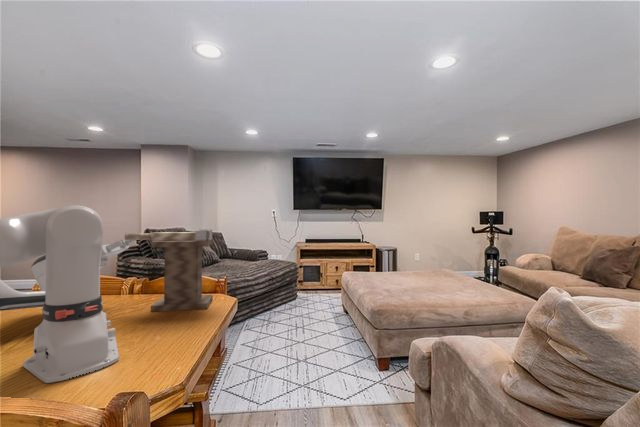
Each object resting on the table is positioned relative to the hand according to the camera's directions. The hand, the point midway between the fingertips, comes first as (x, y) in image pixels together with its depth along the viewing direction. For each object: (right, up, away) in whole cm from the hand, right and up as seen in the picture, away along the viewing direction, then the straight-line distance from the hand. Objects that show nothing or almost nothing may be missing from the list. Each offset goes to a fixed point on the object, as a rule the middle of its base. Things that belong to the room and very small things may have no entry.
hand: (127, 240), depth 114 cm
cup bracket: (+27, 0, +5) cm, 28 cm away
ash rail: (+12, 0, +2) cm, 12 cm away
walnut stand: (+20, -26, +4) cm, 33 cm away
